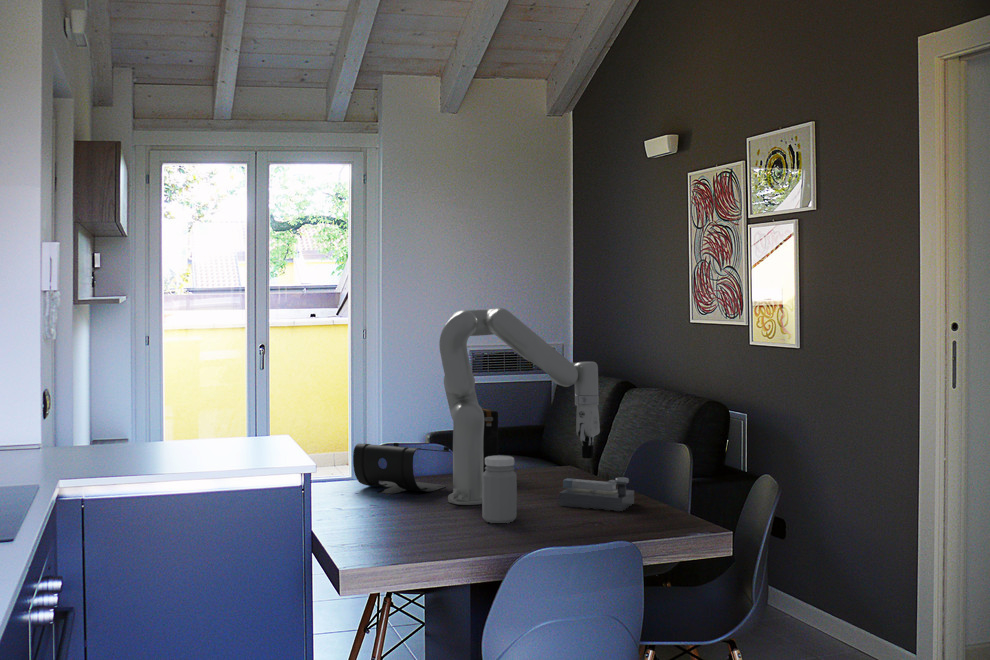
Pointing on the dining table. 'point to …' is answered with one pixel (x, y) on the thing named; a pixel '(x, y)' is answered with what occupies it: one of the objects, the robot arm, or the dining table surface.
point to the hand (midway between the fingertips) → (587, 457)
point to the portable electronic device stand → (389, 468)
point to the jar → (499, 490)
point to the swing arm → (594, 484)
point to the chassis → (597, 498)
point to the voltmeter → (490, 434)
